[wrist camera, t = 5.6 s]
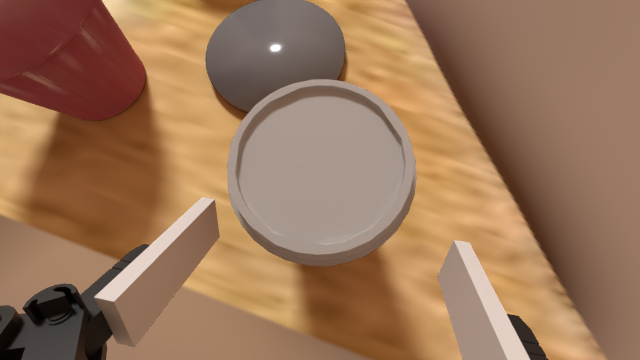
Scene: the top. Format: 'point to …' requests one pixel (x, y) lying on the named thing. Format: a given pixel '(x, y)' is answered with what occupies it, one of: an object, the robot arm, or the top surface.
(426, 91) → the top surface
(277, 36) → the gray dome
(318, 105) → the disposable coffee cup
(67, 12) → the plant pot
